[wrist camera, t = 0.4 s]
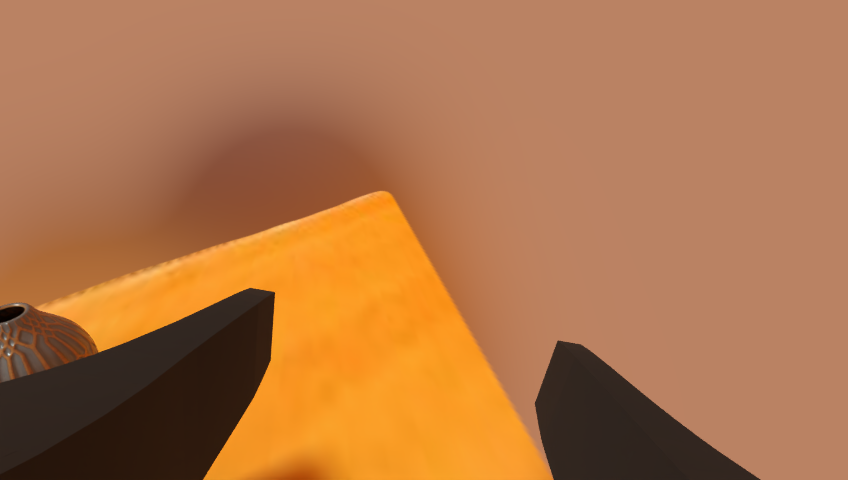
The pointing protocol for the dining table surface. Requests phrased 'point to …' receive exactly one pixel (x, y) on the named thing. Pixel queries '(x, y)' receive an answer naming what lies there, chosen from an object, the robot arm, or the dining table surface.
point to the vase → (38, 341)
